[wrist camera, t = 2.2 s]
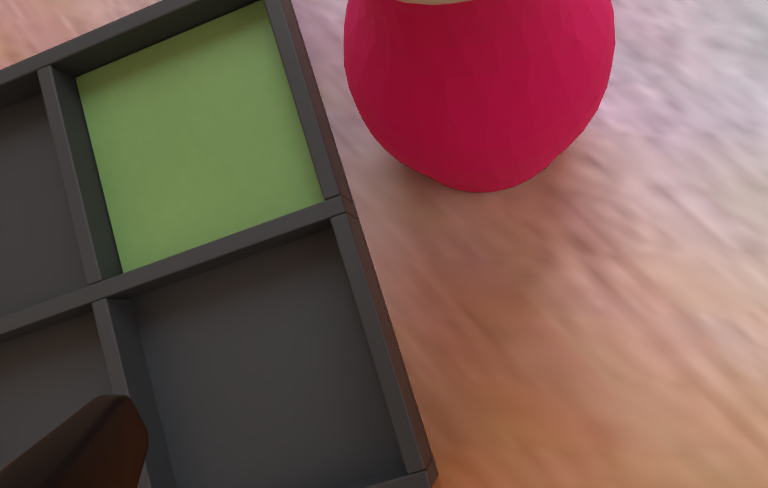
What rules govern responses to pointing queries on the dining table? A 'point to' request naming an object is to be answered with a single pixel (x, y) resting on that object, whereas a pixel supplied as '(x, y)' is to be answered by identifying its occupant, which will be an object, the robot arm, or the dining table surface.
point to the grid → (196, 258)
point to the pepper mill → (478, 82)
